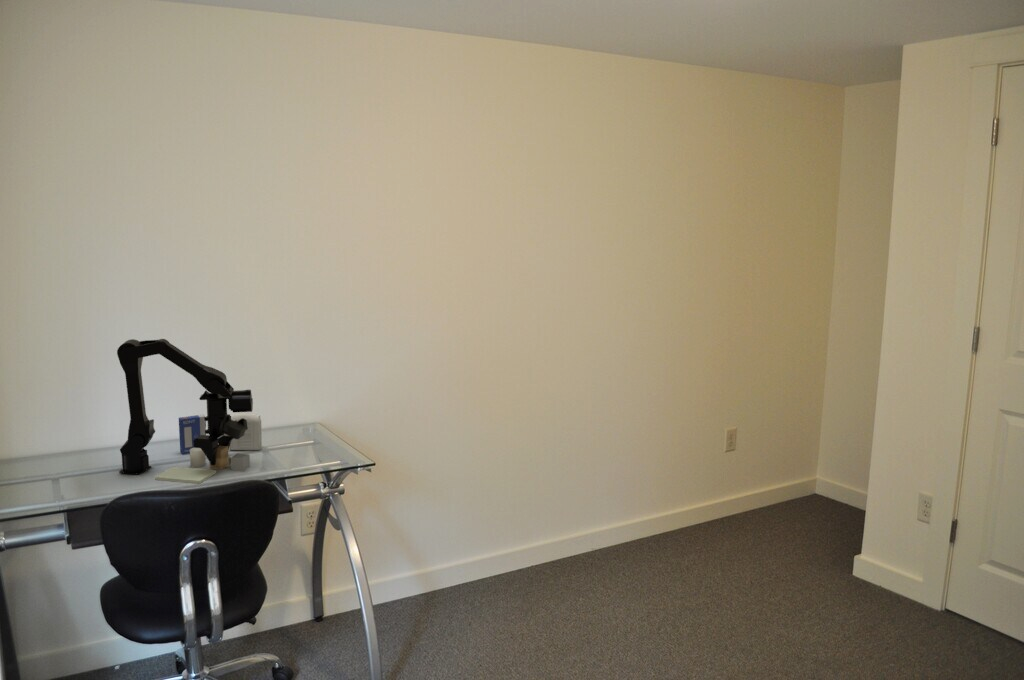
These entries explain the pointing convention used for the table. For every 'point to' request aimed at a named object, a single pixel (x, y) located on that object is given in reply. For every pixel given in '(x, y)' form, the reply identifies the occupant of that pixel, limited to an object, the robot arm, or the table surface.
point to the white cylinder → (197, 457)
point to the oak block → (221, 458)
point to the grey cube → (240, 462)
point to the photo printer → (248, 433)
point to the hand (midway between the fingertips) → (219, 461)
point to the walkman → (190, 431)
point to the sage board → (185, 475)
